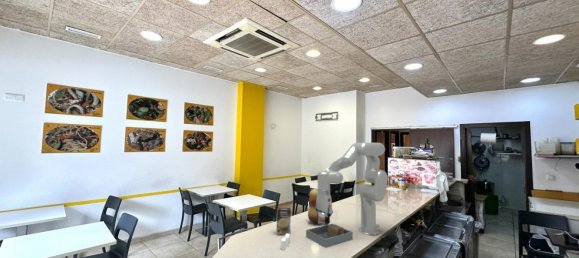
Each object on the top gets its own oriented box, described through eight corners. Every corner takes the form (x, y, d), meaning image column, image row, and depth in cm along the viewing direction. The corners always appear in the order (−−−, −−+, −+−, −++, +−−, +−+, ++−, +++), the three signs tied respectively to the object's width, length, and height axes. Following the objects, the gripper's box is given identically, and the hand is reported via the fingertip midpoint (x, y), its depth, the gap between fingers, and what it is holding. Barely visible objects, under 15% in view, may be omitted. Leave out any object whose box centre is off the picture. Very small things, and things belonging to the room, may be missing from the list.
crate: (332, 231, 163) (332, 223, 163) (352, 240, 148) (352, 232, 148) (306, 238, 151) (306, 229, 151) (325, 248, 136) (325, 239, 136)
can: (323, 221, 152) (323, 210, 152) (331, 224, 146) (331, 212, 147) (315, 223, 148) (316, 211, 149) (322, 226, 143) (323, 214, 143)
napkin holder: (287, 240, 148) (287, 230, 149) (300, 246, 140) (300, 236, 141) (268, 247, 138) (268, 237, 138) (281, 254, 130) (281, 243, 130)
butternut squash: (304, 224, 176) (305, 189, 178) (311, 219, 188) (312, 186, 190) (322, 227, 170) (322, 191, 171) (328, 222, 182) (329, 188, 183)
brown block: (334, 233, 157) (334, 224, 158) (343, 237, 151) (343, 227, 151) (327, 235, 154) (327, 225, 154) (336, 239, 147) (336, 229, 148)
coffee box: (276, 235, 155) (276, 209, 156) (276, 231, 161) (276, 207, 162) (290, 235, 155) (290, 209, 156) (290, 231, 161) (290, 207, 162)
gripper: (338, 194, 143) (338, 224, 142) (319, 189, 158) (318, 217, 157) (328, 195, 139) (328, 227, 138) (310, 190, 154) (309, 219, 153)
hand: (323, 221), depth 148 cm, fingers closed on can, 6 cm apart
